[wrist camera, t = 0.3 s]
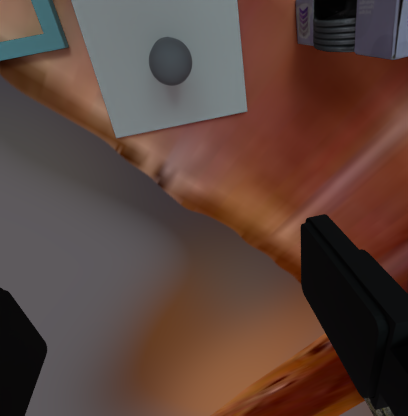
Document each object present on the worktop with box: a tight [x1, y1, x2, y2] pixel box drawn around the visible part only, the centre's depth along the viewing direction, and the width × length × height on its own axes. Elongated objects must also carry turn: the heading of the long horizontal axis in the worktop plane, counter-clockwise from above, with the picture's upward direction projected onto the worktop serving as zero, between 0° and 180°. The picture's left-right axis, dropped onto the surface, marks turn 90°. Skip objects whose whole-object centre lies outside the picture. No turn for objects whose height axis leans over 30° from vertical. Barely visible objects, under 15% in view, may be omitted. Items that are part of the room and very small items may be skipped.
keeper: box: [71, 0, 247, 138], centre depth 26 cm, size 22×16×12 cm
